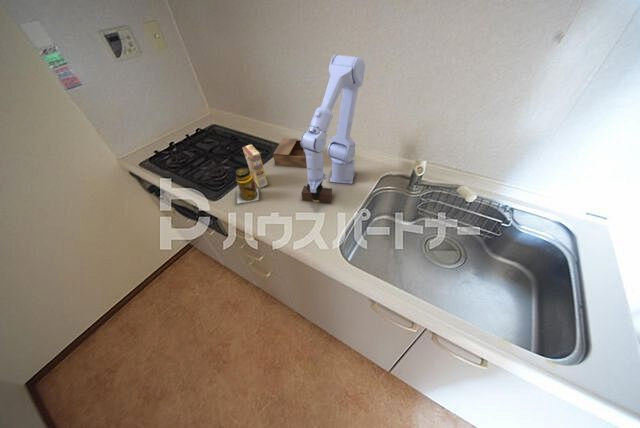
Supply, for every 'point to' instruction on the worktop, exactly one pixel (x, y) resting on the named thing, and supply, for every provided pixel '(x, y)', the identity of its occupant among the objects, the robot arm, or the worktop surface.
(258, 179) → the candy box
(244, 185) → the condiment
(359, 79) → the robot arm
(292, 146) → the brown wooden square box
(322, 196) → the chocolate bar
